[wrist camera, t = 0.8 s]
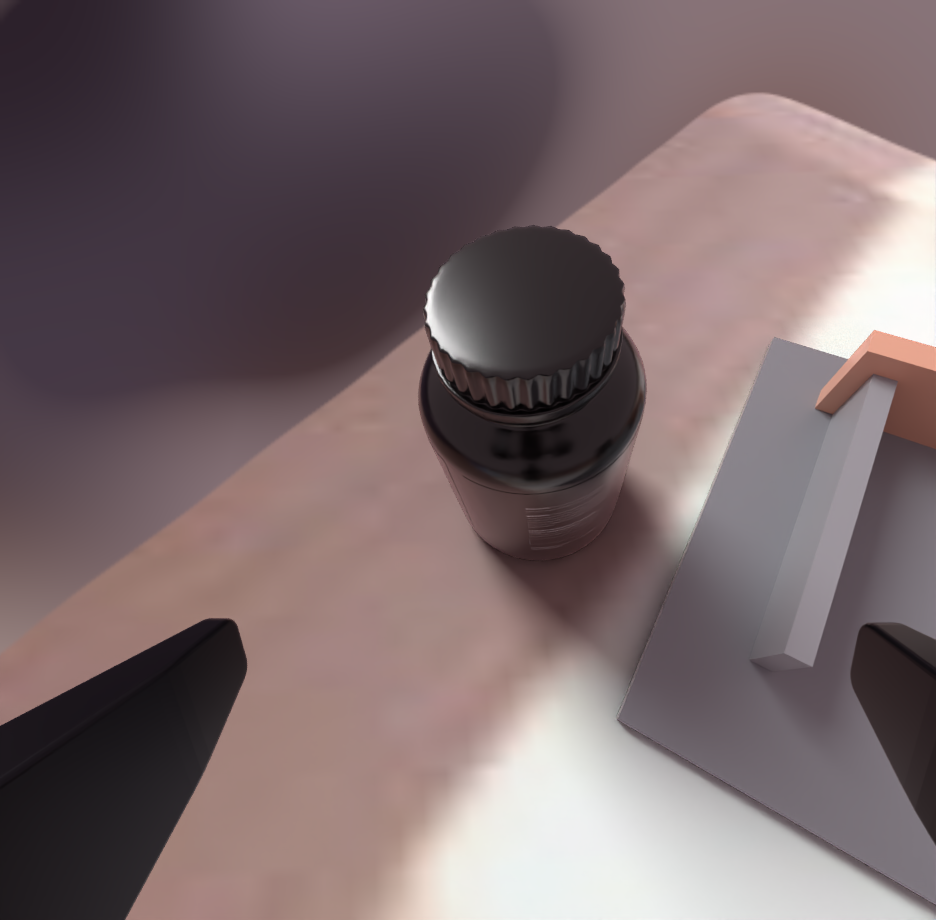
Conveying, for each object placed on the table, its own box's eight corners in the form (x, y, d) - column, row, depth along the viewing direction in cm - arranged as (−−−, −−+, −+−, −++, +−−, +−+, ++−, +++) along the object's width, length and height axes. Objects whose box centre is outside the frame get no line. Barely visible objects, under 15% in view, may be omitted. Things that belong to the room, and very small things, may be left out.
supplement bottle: (624, 430, 23) (689, 198, 12) (606, 578, 21) (671, 448, 10) (477, 411, 25) (422, 190, 14) (443, 547, 22) (344, 404, 11)
